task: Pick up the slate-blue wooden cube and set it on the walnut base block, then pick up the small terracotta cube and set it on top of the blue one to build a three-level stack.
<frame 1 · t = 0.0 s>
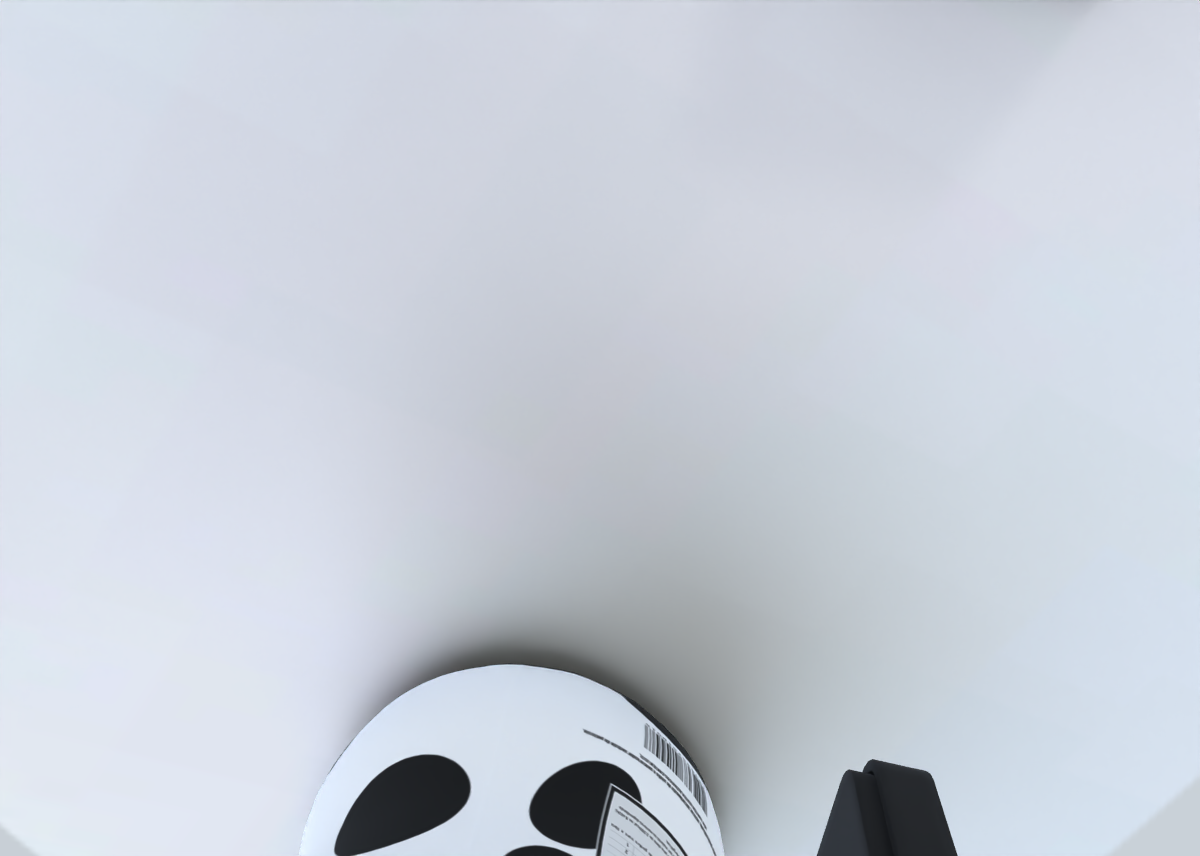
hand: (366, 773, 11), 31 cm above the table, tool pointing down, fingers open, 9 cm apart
milk container: (532, 799, 48), on the table
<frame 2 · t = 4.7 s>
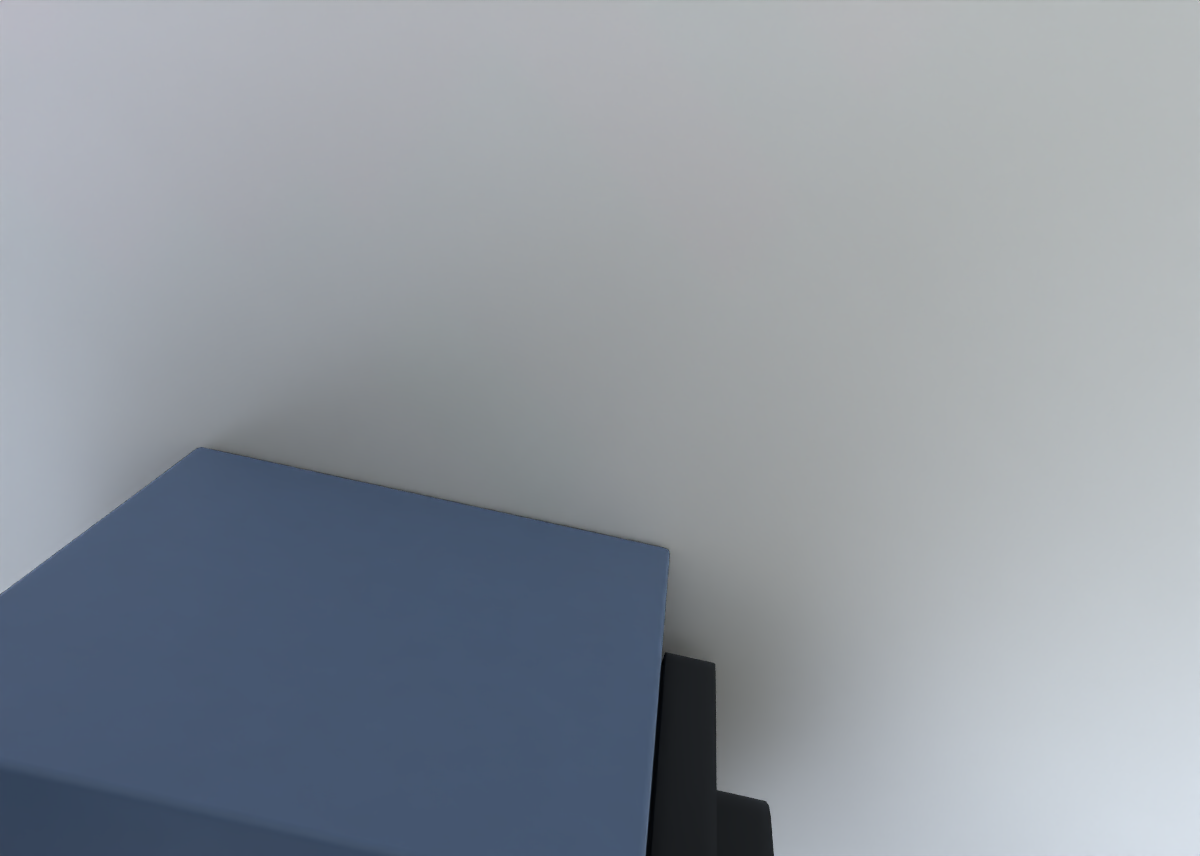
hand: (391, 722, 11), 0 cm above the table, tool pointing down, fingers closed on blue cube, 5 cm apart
blue cube: (402, 699, 12), on the table, touching gripper
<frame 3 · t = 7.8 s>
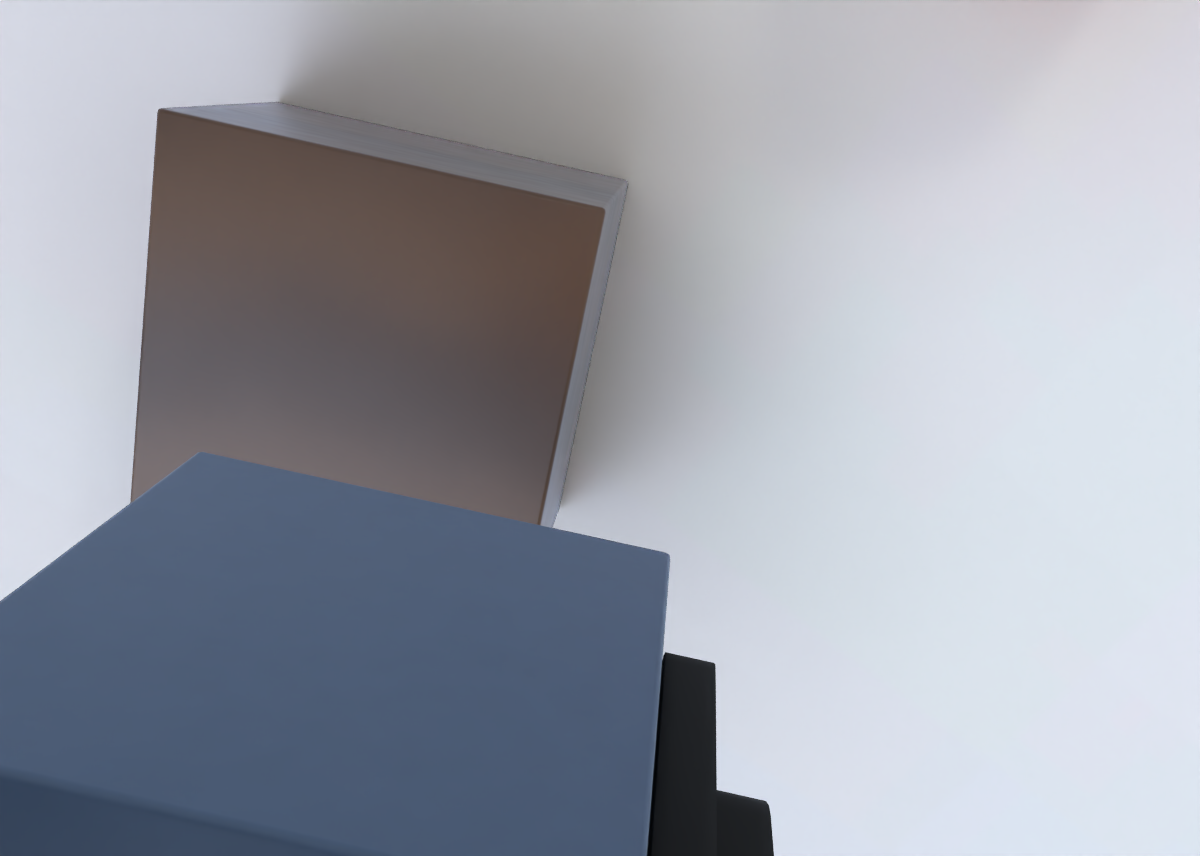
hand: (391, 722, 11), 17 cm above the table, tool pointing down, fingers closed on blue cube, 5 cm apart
blue cube: (402, 703, 12), point 17 cm above the table, touching gripper
walnut base: (423, 315, 28), on the table
when the fingers open (6 cm above the table, at t = 11.2 s): blue cube stays where it is, resting on walnut base.
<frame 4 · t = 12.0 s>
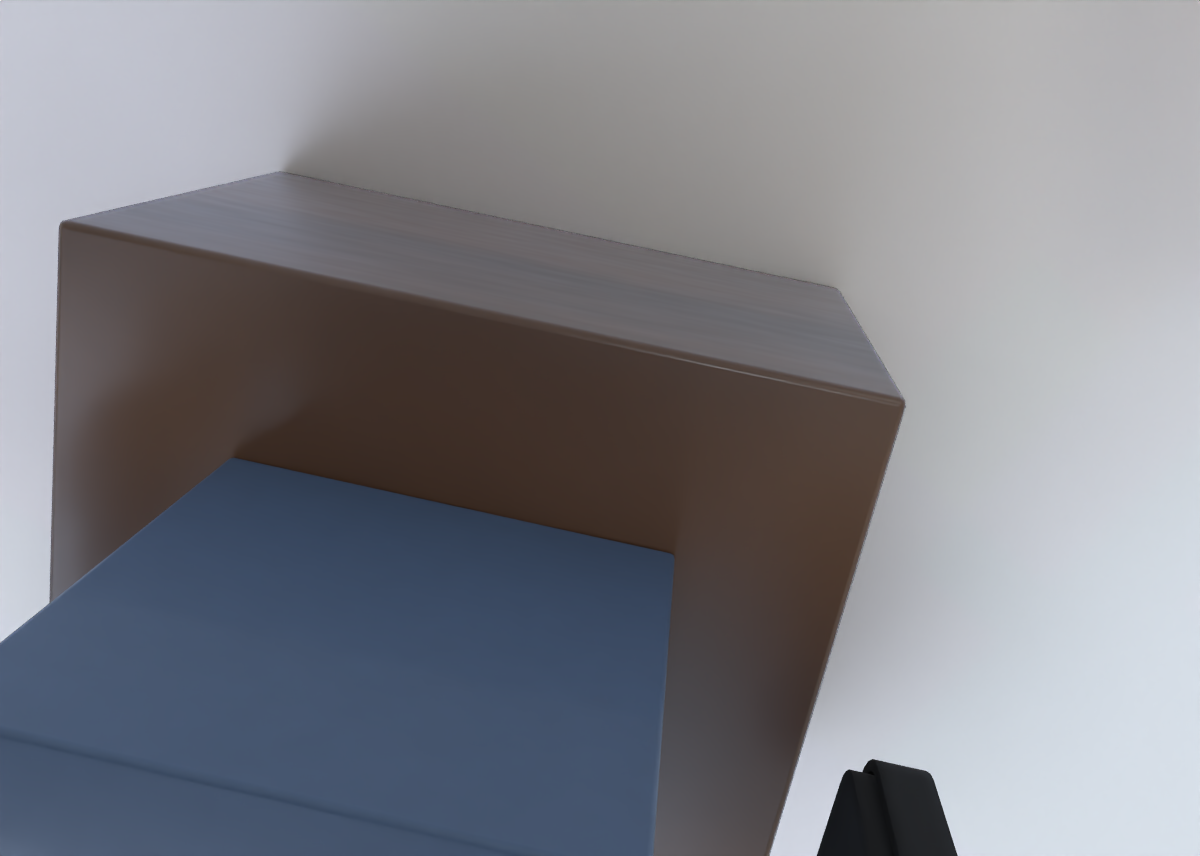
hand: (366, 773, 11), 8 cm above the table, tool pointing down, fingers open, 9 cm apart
blue cube: (420, 696, 13), point 6 cm above the table, touching walnut base
walnut base: (509, 490, 18), on the table, touching blue cube
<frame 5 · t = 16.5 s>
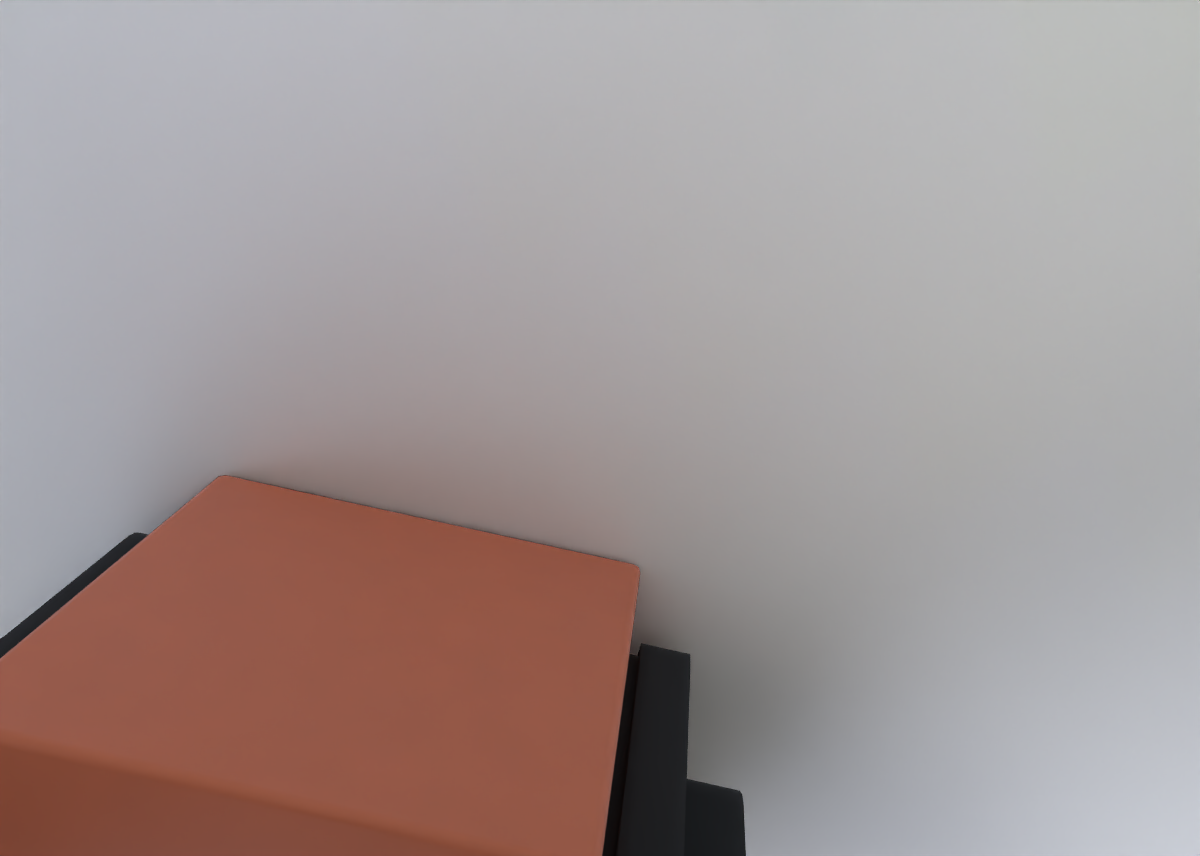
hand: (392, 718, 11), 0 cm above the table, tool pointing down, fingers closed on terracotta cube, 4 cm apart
terracotta cube: (402, 699, 12), on the table, touching gripper
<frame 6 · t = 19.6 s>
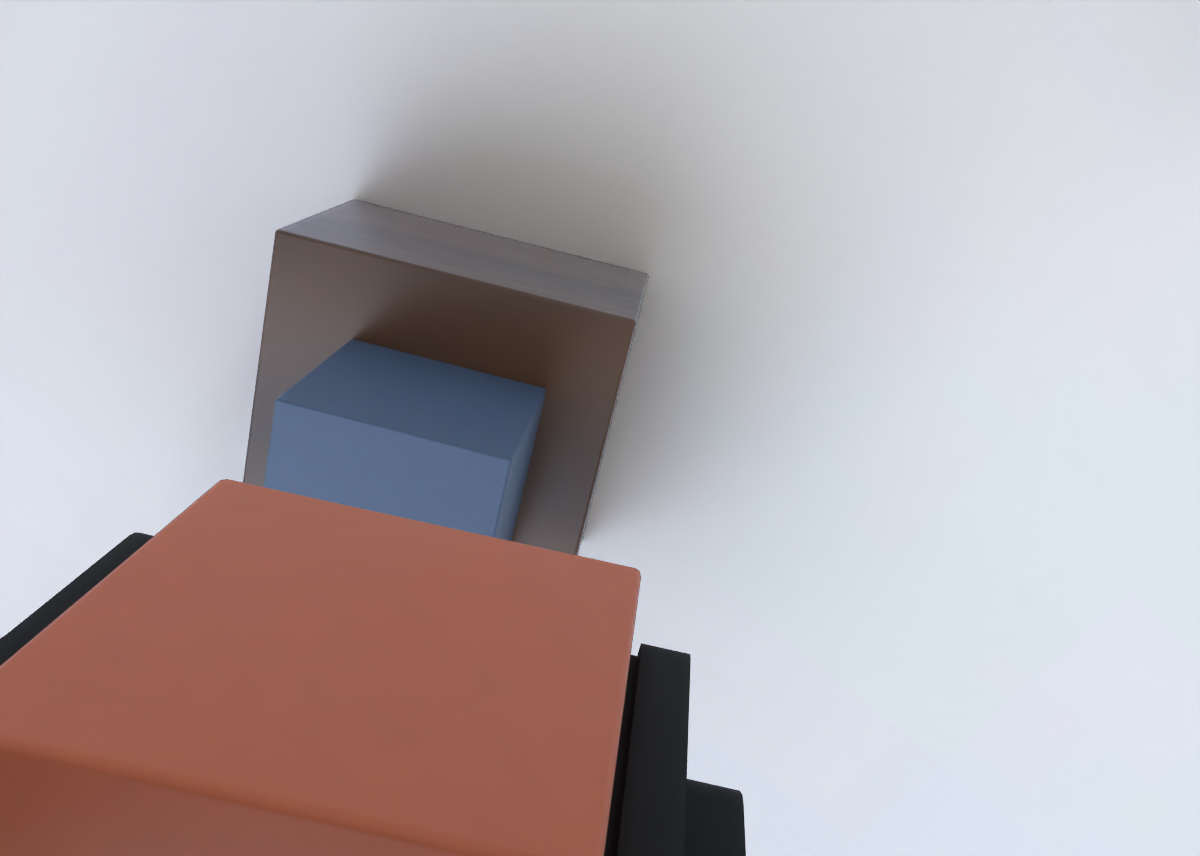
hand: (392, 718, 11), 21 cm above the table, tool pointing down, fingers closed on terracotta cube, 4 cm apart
blue cube: (431, 454, 27), point 6 cm above the table, touching walnut base
walnut base: (471, 378, 33), on the table, touching blue cube
terracotta cube: (403, 702, 12), point 21 cm above the table, touching gripper
when the fingers open (11 cm above the table, at t = 22.7 s): terracotta cube stays where it is, resting on blue cube.
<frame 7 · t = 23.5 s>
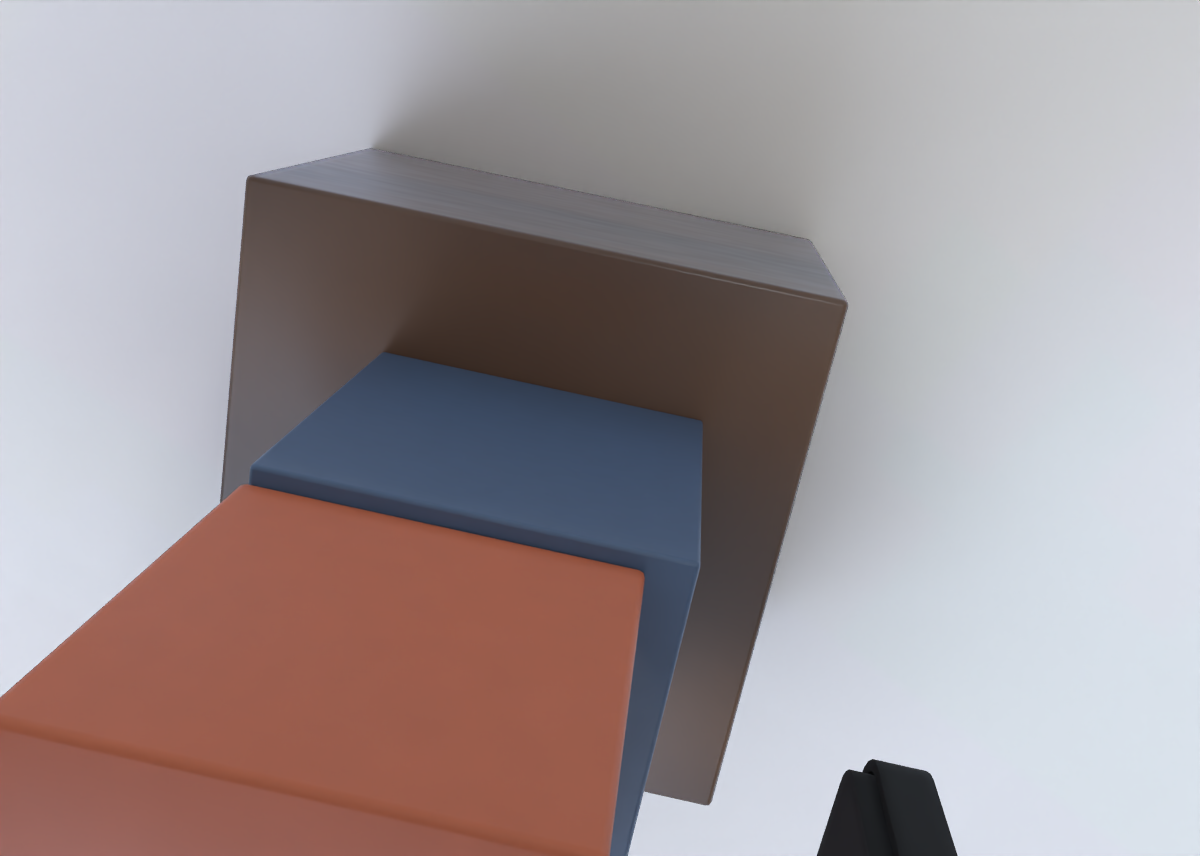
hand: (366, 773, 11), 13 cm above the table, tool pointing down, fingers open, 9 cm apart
blue cube: (514, 532, 17), point 6 cm above the table, touching terracotta cube, walnut base
walnut base: (549, 405, 23), on the table, touching blue cube
terracotta cube: (415, 699, 12), point 11 cm above the table, touching blue cube
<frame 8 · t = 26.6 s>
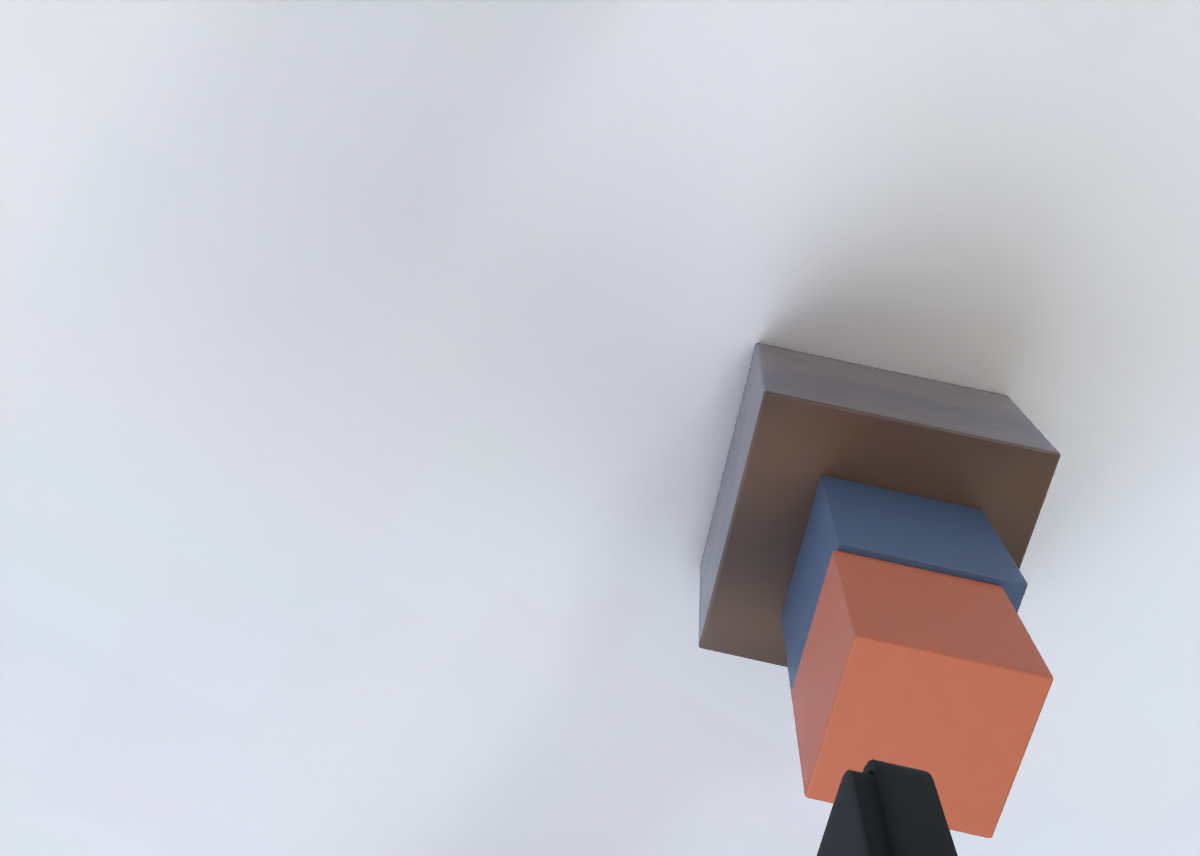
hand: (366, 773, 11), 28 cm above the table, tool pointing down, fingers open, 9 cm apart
blue cube: (878, 563, 33), point 6 cm above the table, touching terracotta cube, walnut base
walnut base: (847, 485, 39), on the table, touching blue cube
terracotta cube: (893, 640, 29), point 11 cm above the table, touching blue cube
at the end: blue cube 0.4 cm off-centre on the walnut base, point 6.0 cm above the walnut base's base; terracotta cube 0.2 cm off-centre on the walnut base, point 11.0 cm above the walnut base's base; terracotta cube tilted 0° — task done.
